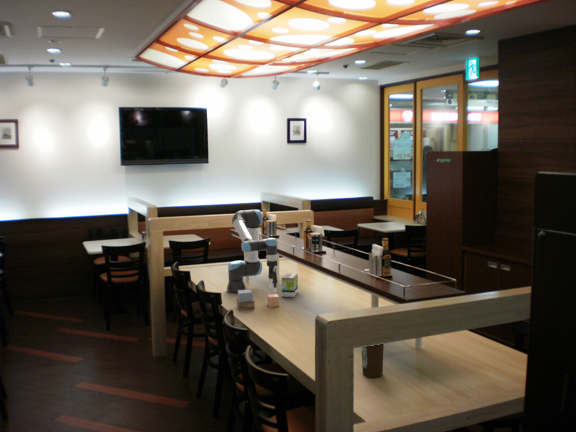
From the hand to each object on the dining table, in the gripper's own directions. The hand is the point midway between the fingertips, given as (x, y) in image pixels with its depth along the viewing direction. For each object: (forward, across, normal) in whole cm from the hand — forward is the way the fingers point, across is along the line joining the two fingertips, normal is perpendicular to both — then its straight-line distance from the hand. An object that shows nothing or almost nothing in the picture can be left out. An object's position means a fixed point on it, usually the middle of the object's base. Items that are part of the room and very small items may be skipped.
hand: (273, 289), depth 365 cm
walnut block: (+11, 0, -20) cm, 23 cm away
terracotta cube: (+11, 0, 0) cm, 11 cm away
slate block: (+5, 0, -20) cm, 21 cm away
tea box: (+11, -26, +18) cm, 33 cm away
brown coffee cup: (+13, +130, +22) cm, 132 cm away
